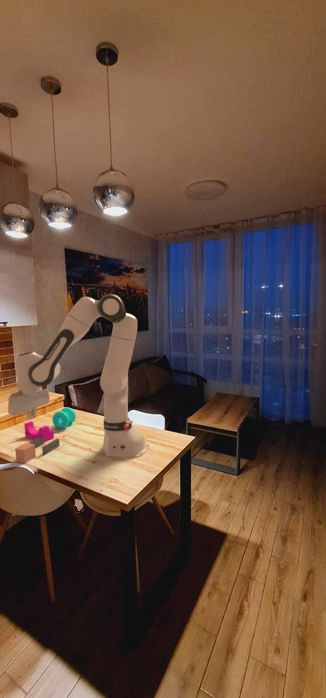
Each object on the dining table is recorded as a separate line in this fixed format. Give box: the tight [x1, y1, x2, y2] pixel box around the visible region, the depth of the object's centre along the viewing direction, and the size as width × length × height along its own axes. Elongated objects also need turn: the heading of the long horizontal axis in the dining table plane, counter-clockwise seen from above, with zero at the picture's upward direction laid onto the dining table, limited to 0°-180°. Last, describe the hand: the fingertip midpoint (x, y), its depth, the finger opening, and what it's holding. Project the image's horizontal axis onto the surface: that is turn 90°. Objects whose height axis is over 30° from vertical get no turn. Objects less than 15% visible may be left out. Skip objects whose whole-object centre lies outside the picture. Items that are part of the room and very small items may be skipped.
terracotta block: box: [14, 442, 37, 464], centre depth 129 cm, size 5×6×6 cm
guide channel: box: [29, 436, 60, 456], centre depth 140 cm, size 10×10×4 cm
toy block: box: [23, 420, 55, 443], centre depth 153 cm, size 15×6×8 cm, turn 58°
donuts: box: [51, 406, 77, 430], centre depth 167 cm, size 10×10×10 cm
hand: (31, 418), depth 132 cm, fingers closed
